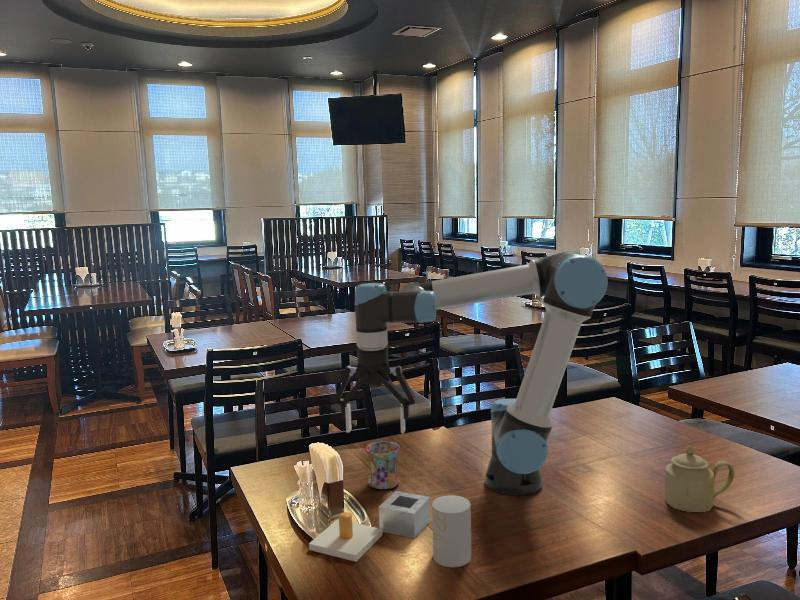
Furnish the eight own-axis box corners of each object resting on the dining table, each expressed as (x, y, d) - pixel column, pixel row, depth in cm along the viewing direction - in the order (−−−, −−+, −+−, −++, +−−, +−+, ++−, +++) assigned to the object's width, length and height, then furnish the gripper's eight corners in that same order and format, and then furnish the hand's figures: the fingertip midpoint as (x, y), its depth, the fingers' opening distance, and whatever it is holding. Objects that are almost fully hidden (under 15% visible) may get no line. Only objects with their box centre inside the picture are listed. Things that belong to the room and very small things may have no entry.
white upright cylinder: (430, 547, 140) (429, 496, 138) (467, 545, 141) (466, 494, 139) (436, 568, 132) (434, 514, 130) (474, 565, 133) (473, 511, 131)
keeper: (382, 535, 146) (381, 508, 145) (356, 561, 135) (355, 533, 134) (337, 525, 151) (336, 499, 150) (309, 549, 141) (307, 522, 140)
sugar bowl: (699, 487, 166) (701, 432, 163) (735, 505, 155) (738, 446, 153) (654, 498, 160) (656, 441, 158) (688, 517, 150) (690, 456, 148)
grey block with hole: (430, 520, 152) (429, 497, 151) (414, 538, 144) (414, 513, 143) (396, 513, 156) (396, 490, 155) (379, 530, 148) (378, 506, 147)
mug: (404, 489, 169) (403, 451, 168) (370, 494, 167) (369, 455, 166) (393, 471, 181) (392, 436, 179) (361, 476, 179) (360, 440, 177)
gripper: (424, 343, 156) (427, 426, 159) (325, 344, 159) (330, 425, 163) (422, 350, 149) (424, 437, 152) (318, 350, 152) (323, 435, 155)
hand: (375, 431), depth 157 cm, fingers open, 13 cm apart
